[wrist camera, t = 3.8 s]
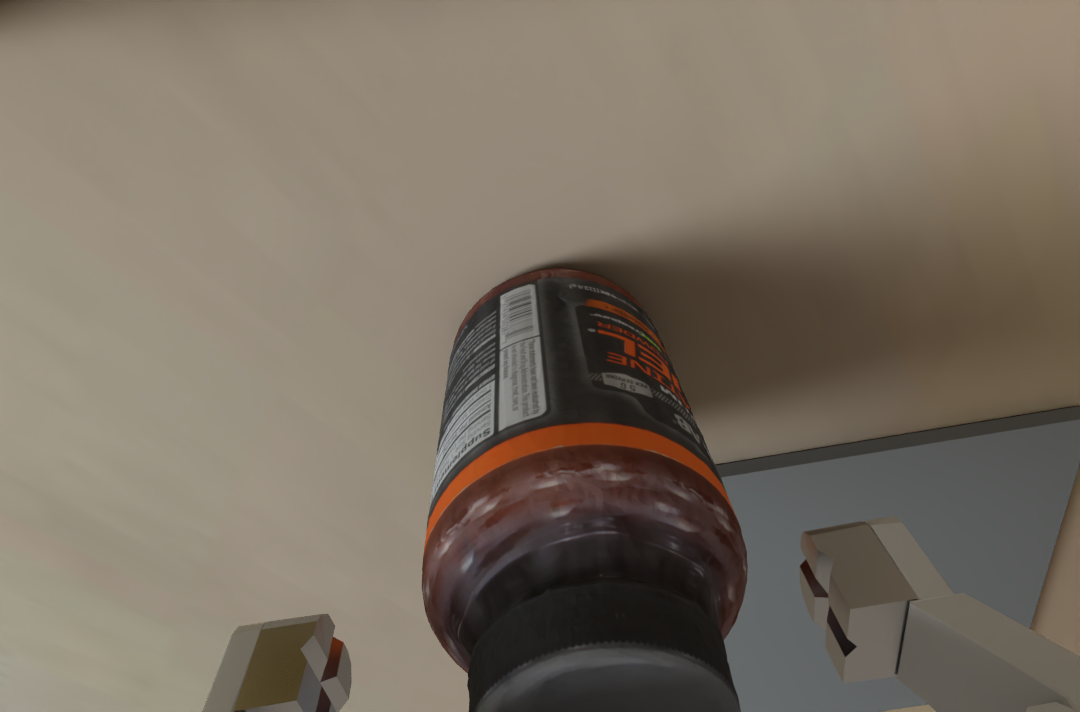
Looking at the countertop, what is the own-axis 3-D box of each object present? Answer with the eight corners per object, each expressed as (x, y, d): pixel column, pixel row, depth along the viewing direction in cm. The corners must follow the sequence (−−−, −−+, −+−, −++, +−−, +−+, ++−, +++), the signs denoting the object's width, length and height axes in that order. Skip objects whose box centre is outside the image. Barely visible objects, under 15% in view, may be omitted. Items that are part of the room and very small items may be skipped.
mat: (1001, 678, 28) (1010, 692, 28) (668, 728, 29) (671, 742, 28) (1079, 406, 21) (1093, 417, 21) (639, 477, 22) (642, 490, 21)
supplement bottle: (700, 345, 20) (900, 725, 10) (559, 470, 22) (610, 888, 12) (547, 213, 17) (611, 533, 8) (406, 366, 19) (315, 773, 10)
